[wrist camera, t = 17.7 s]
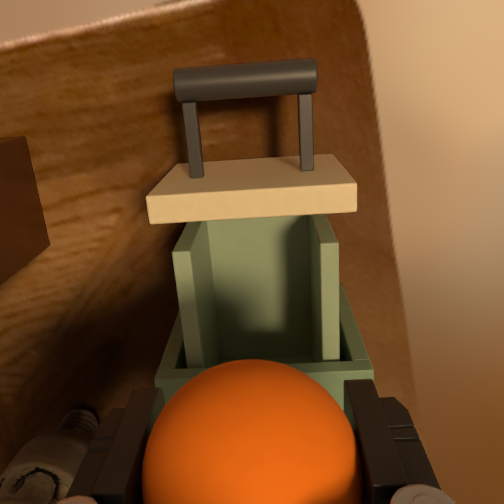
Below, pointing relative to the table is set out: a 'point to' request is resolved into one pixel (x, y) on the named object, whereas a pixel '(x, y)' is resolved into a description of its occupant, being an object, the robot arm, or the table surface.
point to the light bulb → (49, 462)
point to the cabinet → (325, 373)
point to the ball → (252, 441)
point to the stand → (18, 209)
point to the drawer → (255, 229)
